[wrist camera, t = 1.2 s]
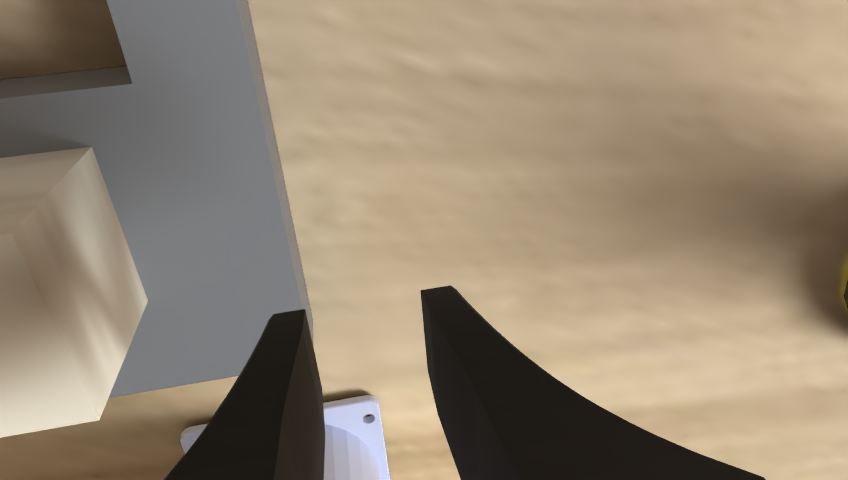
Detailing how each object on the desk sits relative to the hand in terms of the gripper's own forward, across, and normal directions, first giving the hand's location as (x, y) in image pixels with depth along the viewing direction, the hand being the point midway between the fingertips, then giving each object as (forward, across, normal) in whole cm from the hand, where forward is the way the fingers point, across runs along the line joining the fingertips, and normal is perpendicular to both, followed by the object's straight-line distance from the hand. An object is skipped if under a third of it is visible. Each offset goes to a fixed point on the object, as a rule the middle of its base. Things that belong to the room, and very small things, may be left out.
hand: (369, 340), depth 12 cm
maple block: (+7, +9, 0) cm, 11 cm away
